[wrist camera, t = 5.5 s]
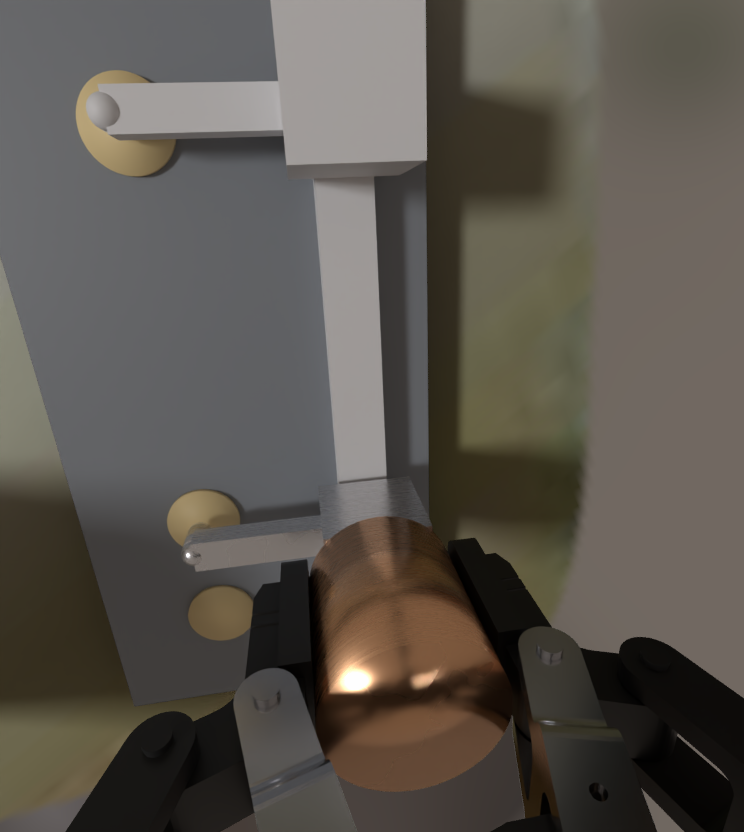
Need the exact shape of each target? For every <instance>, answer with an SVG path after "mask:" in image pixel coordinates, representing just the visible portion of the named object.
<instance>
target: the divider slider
mask: <svg viewBox="0 0 744 832" xmlns="http://www.w3.org/2000/svg"><path fill="white" fill-rule="evenodd" d="M318 492H319V503H320V513H321V515H316V516H307V517H299V518H291V519H282V520H274V521H266V522H257V523H249V524H241V525H232V526H224V527H216V528H211V527H210V525H208V524H207V523H204V522H198V523H195V524H194V525H192V526H191V527H190V529H189V530H188V533H187V536H186V539H185V542H184V545H183V547H182V550H181V557H182V560H183V561H184V562H185V563H186V564H188V565H190V566H195V571H196V572H198V571H206V570H214V569H221V568H229V567H237V566H244V565H252V564H260V563H268V562H275V561H283V560H291V559H298V558H306V557H314V556H316V558H315V560H314V562H313V564H312V568H311V571H310V577H309V581H310V602H311V624H312V646H313V667H314V704H315V727H316V735H317V738H318V740H319V743H320V746H321V749H322V752H323V754H324V757H325V759H326V760H327V759H329V760H330V761H331V763H332V765H333V768H334V770H335V773H336V774H337V775H338V776H340V777H341V778H343V779H344V780H346V781H348V782H350V783H352V784H355V785H357V786H360V787H363V788H367V789H371V790H378V791H390V792H398V791H410V790H416V789H422V788H426V787H430V786H433V785H436V784H439V783H442V782H444V781H447V780H449V779H452V778H454V777H456V776H458V775H459V774H461V773H463V772H465V771H467V770H468V769H470V768H471V767H473V766H474V765H475V764H477V763H478V762H479V761H481V760H482V759H483V758H484V757H485V756H486V755H487V754H488V753H489V752H490V751H491V750H492V749H493V748H494V747H495V746H496V744H497V743H498V742H499V740H500V739H501V737H502V736H503V734H504V733H505V730H506V728H507V726H508V724H509V722H510V718H511V715H512V710H513V693H512V687H511V684H510V682H509V679H508V677H507V675H506V673H505V671H504V669H503V667H502V665H501V663H500V660H499V658H498V656H497V654H496V652H495V650H494V648H493V646H492V644H491V642H490V640H489V638H488V636H487V633H486V631H485V629H484V627H483V625H482V623H481V621H480V619H479V617H478V615H477V613H476V611H475V609H474V606H473V604H472V602H471V600H470V598H469V596H468V594H467V592H466V590H465V588H464V586H463V584H462V582H461V579H460V577H459V575H458V573H457V571H456V569H455V567H454V565H453V563H452V561H451V559H450V557H449V555H448V552H447V550H446V548H445V546H444V545H443V543H442V541H441V540H440V539H439V538H438V536H437V535H436V534H435V533H434V532H433V526H432V524H431V522H430V519H429V517H428V515H427V513H426V511H425V509H424V507H423V505H422V503H421V500H420V498H419V496H418V494H417V492H416V490H415V488H414V486H413V484H412V481H411V479H410V477H409V476H406V477H397V478H388V479H379V480H371V481H362V482H353V483H344V484H335V485H326V486H318Z"/></svg>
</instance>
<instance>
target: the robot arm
mask: <svg viewBox="0 0 744 832" xmlns="http://www.w3.org/2000/svg"><path fill="white" fill-rule="evenodd" d="M448 555H449V557H450V559H451V561H452V563H453V565H454V567H455V569H456V571H457V573H458V575H459V577H460V579H461V582H462V584H463V586H464V588H465V590H466V592H467V594H468V596H469V598H470V600H471V602H472V604H473V606H474V609H475V611H476V613H477V615H478V617H479V619H480V621H481V623H482V625H483V627H484V629H485V631H486V633H487V636H488V638H489V640H490V642H491V644H492V646H493V648H494V650H495V652H496V654H497V656H498V658H499V660H500V663H501V665H502V667H503V669H504V671H505V673H506V675H507V677H508V679H509V682H510V684H511V687H512V693H513V710H512V716H513V723H512V734H513V740H514V746H515V753H516V760H517V766H518V773H519V779H520V786H521V793H522V799H523V806H524V814H525V819H521V820H516V821H511V822H507V823H505V824H503V825H502V826H500V827H498V828H496V829H495V830H493V831H491V832H657V830H656V827H655V824H654V821H653V819H652V816H651V813H650V810H649V808H648V805H647V802H646V800H645V797H644V794H643V791H642V789H643V790H644V791H645V792H646V793H647V794H648V795H649V796H650V797H651V798H652V799H653V800H654V801H655V802H656V803H657V804H658V805H659V806H660V807H661V808H662V809H663V810H664V811H665V812H666V813H667V814H668V815H669V816H670V817H671V819H673V820H674V822H675V823H676V824H677V825H678V826H679V827H680V828H681V829H682V830H684V832H744V698H743V697H741V696H740V695H738V694H737V693H736V692H734V691H733V690H731V689H730V688H728V687H727V686H726V685H724V684H723V683H721V682H720V681H719V680H717V679H716V678H714V677H713V676H712V675H710V674H709V673H707V672H706V671H704V670H703V669H702V668H700V667H699V666H698V665H696V664H695V663H693V662H692V661H691V660H689V659H688V658H686V657H685V656H684V655H682V654H681V653H679V652H678V651H677V650H675V649H674V648H672V647H671V646H669V645H667V644H665V643H663V642H661V641H658V640H655V639H652V638H646V637H634V638H630V639H628V640H626V641H625V642H623V644H622V645H621V647H620V651H619V654H617V653H609V652H600V651H592V650H586V649H583V648H580V647H579V646H578V644H577V643H576V642H575V640H574V639H573V638H571V637H570V636H569V635H567V634H566V633H564V632H562V631H560V630H558V629H555V628H552V627H551V625H550V624H549V622H548V621H547V619H546V618H545V616H544V615H543V613H542V612H541V610H540V608H539V607H538V605H537V604H536V602H535V601H534V599H533V598H532V596H531V595H530V593H529V592H528V590H526V589H525V586H524V584H523V583H522V581H521V579H519V578H518V575H517V573H516V572H515V570H514V569H513V567H512V566H511V564H510V563H509V562H507V561H506V560H505V559H503V558H502V557H500V556H499V555H498V554H496V553H492V554H485V553H484V551H483V550H482V548H481V546H480V545H479V543H478V541H477V540H476V539H475V538H468V539H461V540H453V541H449V542H448ZM677 734H680V735H681V736H682V737H683V738H684V739H685V740H687V741H688V742H689V743H690V744H691V745H692V746H693V747H695V748H696V749H697V750H698V751H699V752H700V753H702V754H703V755H704V756H705V757H706V758H707V759H709V760H710V761H711V762H712V763H713V764H715V765H716V766H717V767H718V768H719V769H720V770H721V771H722V772H723V773H724V775H725V776H726V777H727V779H728V780H727V779H726V778H725V777H724V776H723V775H722V774H720V773H719V772H718V771H717V770H716V769H715V768H713V767H712V766H711V765H710V764H709V763H708V762H707V761H705V760H704V759H703V758H702V757H701V756H699V755H698V754H697V753H696V752H695V751H694V750H693V749H691V748H690V747H689V746H688V745H687V744H686V743H684V742H683V741H682V740H681V739H680V738H679V737H677ZM641 788H642V789H641ZM253 813H255V818H256V823H257V827H258V832H357V830H356V827H355V825H354V822H353V819H352V817H351V814H350V811H349V808H348V806H347V803H346V800H345V797H344V795H343V792H342V789H341V787H340V784H339V781H338V779H337V775H336V773H335V770H334V768H333V765H332V763H331V761H330V760H329V759H327V760H326V759H325V757H324V754H323V752H322V749H321V746H320V743H319V740H318V738H317V735H316V727H315V704H314V667H313V646H312V624H311V602H310V581H309V569H308V561H307V559H305V560H297V561H289V562H282V563H281V574H280V582H275V583H268V584H263V585H262V586H261V588H260V589H259V591H258V593H257V594H256V596H255V597H254V600H253V610H252V619H251V629H250V637H249V646H248V656H247V665H246V674H245V680H244V681H243V682H242V683H241V685H240V686H239V687H238V689H237V691H236V693H235V696H234V698H233V699H232V700H231V701H230V702H229V703H228V704H227V705H225V706H224V707H222V708H221V709H219V710H217V711H215V712H213V713H211V714H209V715H207V716H205V717H202V718H200V719H198V720H196V721H194V722H193V721H192V719H191V718H190V717H189V716H187V715H186V714H184V713H181V712H174V711H171V712H164V713H160V714H158V715H155V716H153V717H151V718H149V719H147V720H146V721H144V722H143V723H141V724H140V725H139V726H138V727H137V728H135V730H134V731H133V732H132V733H131V734H130V735H129V737H128V738H127V739H126V741H125V742H124V744H123V745H122V747H121V748H120V750H119V751H118V753H117V754H116V756H115V757H114V759H113V761H112V762H111V764H110V765H109V767H108V768H107V770H106V771H105V773H104V774H103V776H102V777H101V779H100V780H99V782H98V783H97V785H96V786H95V788H94V789H93V791H92V792H91V794H90V795H89V797H88V798H87V800H86V801H85V803H84V804H83V806H82V808H81V809H80V811H79V812H78V814H77V815H76V817H75V818H74V820H73V821H72V823H71V824H70V826H69V827H68V829H67V830H66V832H220V831H222V830H224V829H226V828H228V827H230V826H231V825H233V824H235V823H237V822H239V821H240V820H242V819H243V818H245V817H247V816H249V815H251V814H253Z"/></svg>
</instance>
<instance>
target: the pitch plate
mask: <svg viewBox="0 0 744 832" xmlns="http://www.w3.org/2000/svg"><path fill="white" fill-rule="evenodd" d="M426 161H427V100H426V0H0V256H1V260H2V263H3V267H4V270H5V273H6V277H7V280H8V283H9V287H10V290H11V293H12V297H13V300H14V304H15V307H16V310H17V314H18V317H19V320H20V324H21V327H22V330H23V334H24V337H25V340H26V344H27V347H28V351H29V354H30V357H31V361H32V364H33V367H34V371H35V374H36V377H37V381H38V384H39V388H40V391H41V394H42V398H43V401H44V404H45V408H46V411H47V414H48V418H49V421H50V424H51V428H52V431H53V435H54V438H55V441H56V445H57V448H58V451H59V455H60V458H61V461H62V465H63V468H64V472H65V475H66V478H67V482H68V485H69V488H70V492H71V495H72V498H73V502H74V505H75V509H76V512H77V515H78V519H79V522H80V525H81V529H82V532H83V535H84V539H85V542H86V545H87V549H88V552H89V556H90V559H91V562H92V566H93V569H94V572H95V576H96V579H97V582H98V586H99V589H100V593H101V596H102V599H103V603H104V606H105V609H106V613H107V616H108V619H109V623H110V626H111V629H112V633H113V636H114V640H115V643H116V646H117V650H118V653H119V656H120V660H121V663H122V666H123V670H124V673H125V677H126V680H127V683H128V687H129V690H130V693H131V697H132V700H133V703H134V706H141V705H147V704H153V703H159V702H166V701H172V700H178V699H184V698H191V697H197V696H203V695H210V694H216V693H222V692H228V691H235V690H237V689H238V687H239V686H240V685H241V683H242V682H243V681H244V680H245V674H246V665H247V656H248V646H249V637H250V629H251V619H252V610H253V600H254V597H255V596H256V594H257V593H258V591H259V589H260V588H261V586H262V585H263V584H268V583H275V582H280V574H281V563H282V562H289V561H297V560H305V559H307V561H308V569H309V577H310V571H311V568H312V564H313V562H314V560H315V558H316V556H314V557H306V558H298V559H291V560H283V561H275V562H268V563H260V564H252V565H244V566H237V567H229V568H221V569H214V570H206V571H198V572H196V571H195V566H190V565H188V564H186V563H185V562H184V561H183V560H182V557H181V550H182V547H183V545H184V542H185V539H186V536H187V533H188V530H189V529H190V527H191V526H192V525H194V524H195V523H198V522H204V523H207V524H208V525H210V527H211V528H216V527H224V526H232V525H241V524H249V523H257V522H266V521H274V520H282V519H291V518H299V517H307V516H316V515H321V513H320V503H319V492H318V486H326V485H335V484H344V483H353V482H362V481H371V480H379V479H388V478H397V477H406V476H409V477H410V479H411V481H412V484H413V486H414V488H415V490H416V492H417V494H418V496H419V498H420V500H421V503H422V505H423V507H424V509H425V511H426V513H427V515H428V517H429V449H428V332H427V214H426Z"/></svg>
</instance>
